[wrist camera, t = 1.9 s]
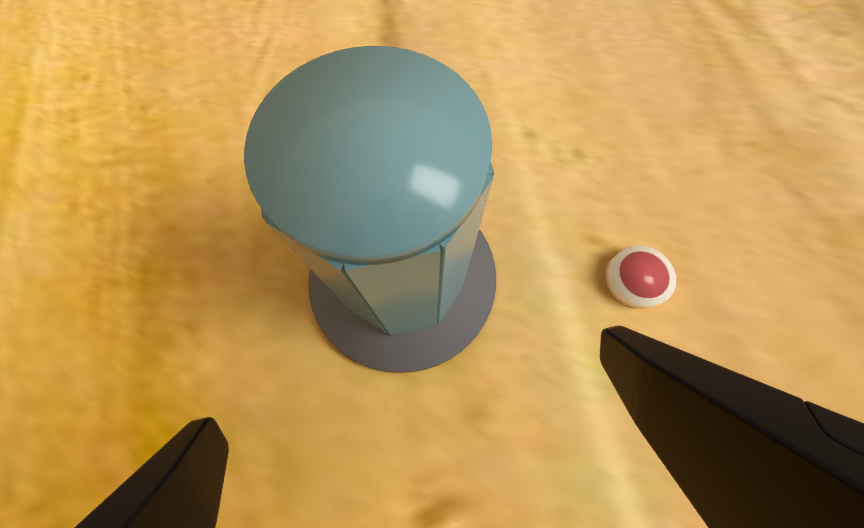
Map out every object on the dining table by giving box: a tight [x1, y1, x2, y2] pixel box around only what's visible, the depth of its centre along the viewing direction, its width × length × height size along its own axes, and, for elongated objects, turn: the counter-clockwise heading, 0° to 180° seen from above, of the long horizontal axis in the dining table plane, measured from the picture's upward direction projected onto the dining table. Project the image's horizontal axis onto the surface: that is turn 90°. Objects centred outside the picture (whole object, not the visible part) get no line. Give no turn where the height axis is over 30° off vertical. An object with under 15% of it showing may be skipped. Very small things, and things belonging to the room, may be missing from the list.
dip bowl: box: [605, 245, 676, 309], centre depth 22 cm, size 4×4×1 cm
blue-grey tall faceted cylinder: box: [244, 46, 494, 336], centre depth 16 cm, size 7×7×13 cm
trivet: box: [309, 230, 496, 373], centre depth 23 cm, size 11×11×1 cm
